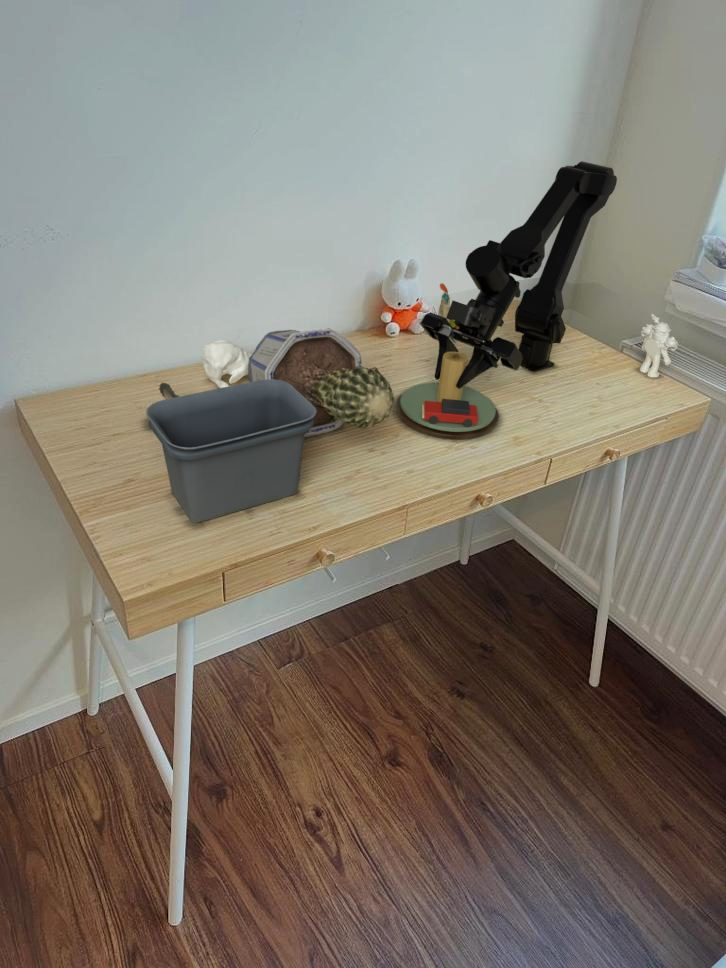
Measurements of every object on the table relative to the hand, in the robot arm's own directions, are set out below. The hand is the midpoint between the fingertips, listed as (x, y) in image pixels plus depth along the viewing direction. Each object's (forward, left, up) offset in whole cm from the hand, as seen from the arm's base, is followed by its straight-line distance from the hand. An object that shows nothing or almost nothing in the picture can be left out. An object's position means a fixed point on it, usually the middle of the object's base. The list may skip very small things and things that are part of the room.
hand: (446, 383), depth 133 cm
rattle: (-25, -25, -7) cm, 36 cm away
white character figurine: (-50, +8, -7) cm, 51 cm away
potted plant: (+23, -5, -7) cm, 24 cm away
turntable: (-1, 0, -5) cm, 6 cm away
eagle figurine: (+42, -19, -7) cm, 46 cm away
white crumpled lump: (+26, -28, -7) cm, 39 cm away
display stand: (-1, 0, -6) cm, 7 cm away
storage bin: (+43, +2, -7) cm, 44 cm away
